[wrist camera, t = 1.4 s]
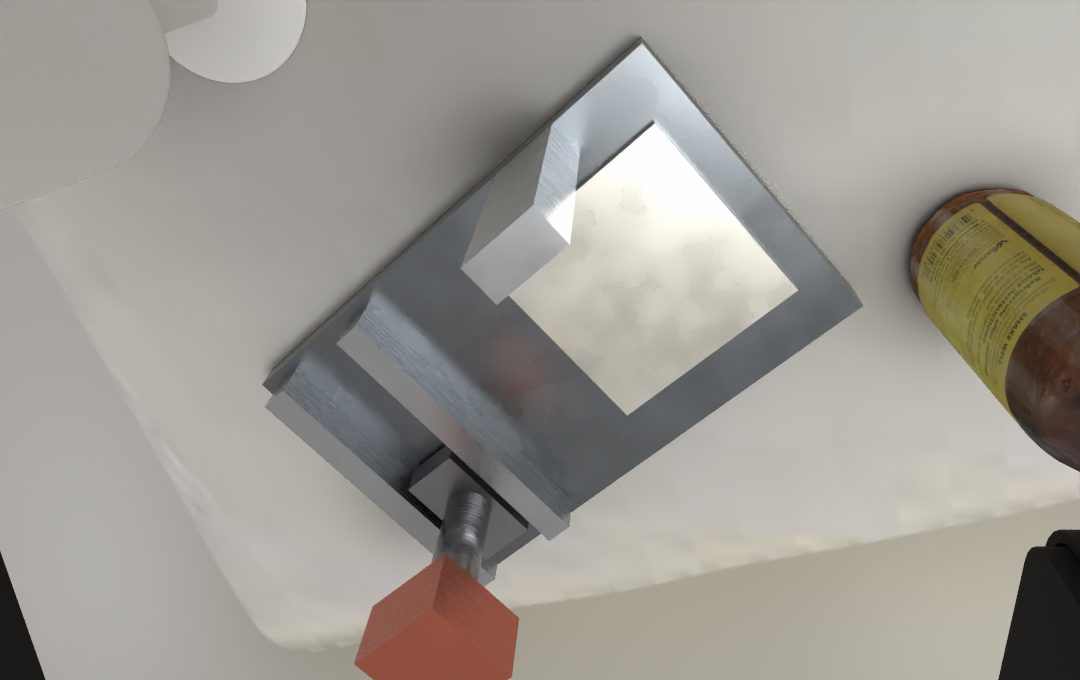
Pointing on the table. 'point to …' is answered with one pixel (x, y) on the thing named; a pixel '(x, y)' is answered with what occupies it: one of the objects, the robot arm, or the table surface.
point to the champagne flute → (116, 76)
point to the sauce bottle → (1010, 305)
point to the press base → (565, 312)
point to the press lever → (448, 588)
